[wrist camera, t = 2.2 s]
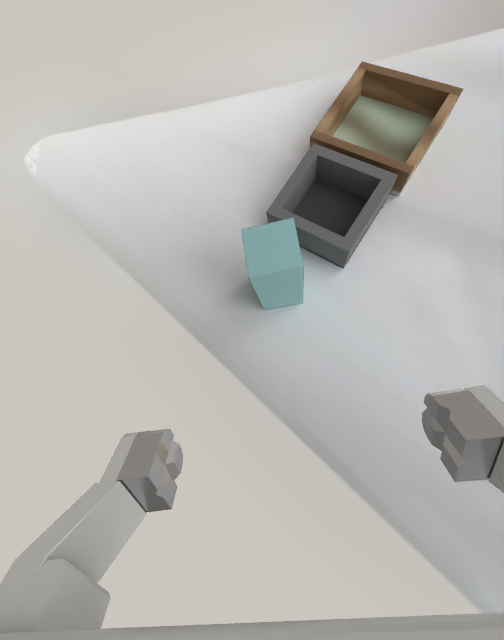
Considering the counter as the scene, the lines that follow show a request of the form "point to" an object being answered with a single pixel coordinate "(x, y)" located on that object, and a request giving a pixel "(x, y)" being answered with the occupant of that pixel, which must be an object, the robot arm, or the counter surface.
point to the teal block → (274, 263)
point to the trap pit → (332, 202)
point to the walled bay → (386, 119)
